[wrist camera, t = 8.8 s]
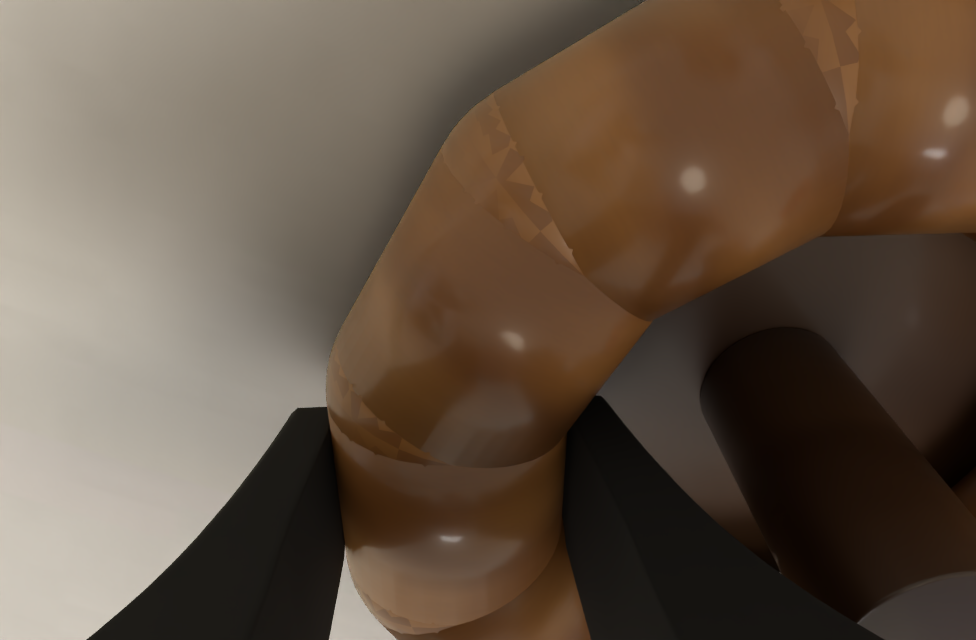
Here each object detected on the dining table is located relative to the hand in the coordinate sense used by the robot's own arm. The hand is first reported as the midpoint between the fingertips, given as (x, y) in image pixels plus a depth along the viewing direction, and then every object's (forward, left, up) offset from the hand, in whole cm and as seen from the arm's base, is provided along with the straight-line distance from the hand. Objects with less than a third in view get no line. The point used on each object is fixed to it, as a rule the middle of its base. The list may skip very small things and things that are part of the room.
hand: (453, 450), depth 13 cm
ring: (0, -6, 0) cm, 6 cm away
